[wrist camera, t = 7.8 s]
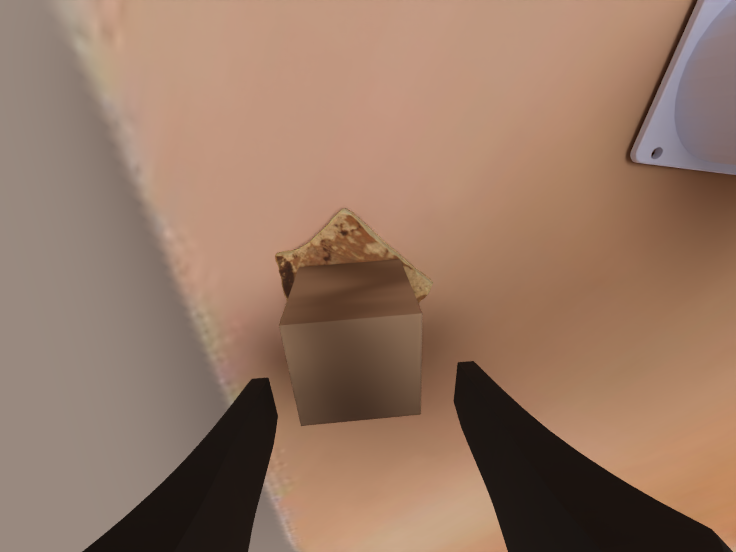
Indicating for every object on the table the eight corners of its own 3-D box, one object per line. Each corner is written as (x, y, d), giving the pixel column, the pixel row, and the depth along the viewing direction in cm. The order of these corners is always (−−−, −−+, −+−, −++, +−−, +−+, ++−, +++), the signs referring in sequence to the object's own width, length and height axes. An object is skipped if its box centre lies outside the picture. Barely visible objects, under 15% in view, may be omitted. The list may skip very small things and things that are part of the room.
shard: (315, 386, 21) (313, 408, 19) (213, 326, 18) (201, 345, 17) (433, 277, 18) (441, 292, 16) (330, 187, 15) (328, 194, 14)
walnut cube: (400, 259, 15) (422, 313, 11) (401, 340, 18) (420, 414, 13) (299, 267, 15) (278, 325, 11) (312, 348, 17) (301, 425, 13)
